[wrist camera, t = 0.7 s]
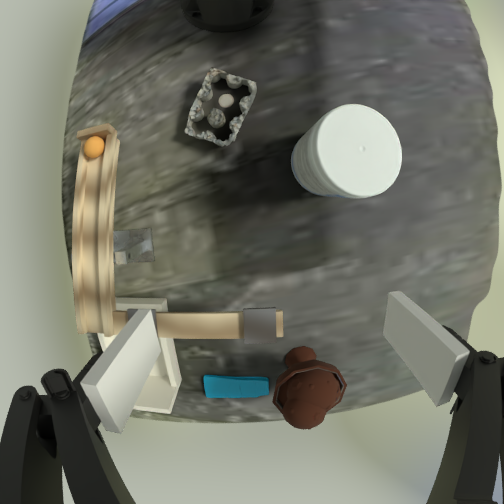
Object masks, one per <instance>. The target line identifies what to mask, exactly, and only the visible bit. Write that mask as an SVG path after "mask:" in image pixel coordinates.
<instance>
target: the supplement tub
mask: <svg viewBox="0 0 504 504" xmlns="http://www.w3.org/2000/svg"><path fill="white" fill-rule="evenodd" d="M401 161H402V152H401V146H400V142H399V139H398V136H397V134H396V132H395V130H394V128H393V127H392V125H391V124H390V123H389V121H388V120H387V119H386V118H385V117H384V116H382V115H381V114H380V113H379V112H377V111H375V110H374V109H371V108H369V107H367V106H363V105H358V104H347V105H343V106H340V107H337V108H335V109H333V110H331V111H329V112H328V113H326V114H325V115H324V116H323V117H322V118H321V119H320V120H318V121H317V122H316V123H315V124H314V125H313V126H312V127H311V128H310V129H309V130H308V131H307V132H306V133H305V134H304V135H303V136H302V137H301V138H300V140H299V141H298V142H297V144H296V145H295V147H294V149H293V152H292V157H291V166H292V170H293V174H294V176H295V178H296V179H297V181H298V182H299V184H300V185H301V186H302V187H303V188H305V189H306V190H308V191H309V192H311V193H313V194H316V195H322V196H332V197H344V198H366V197H370V196H375V195H378V194H380V193H382V192H384V191H385V190H386V189H388V188H389V187H390V186H391V185H392V184H393V182H394V181H395V179H396V178H397V176H398V173H399V171H400V167H401Z"/></svg>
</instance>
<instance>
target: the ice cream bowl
mask: <svg viewBox="0 0 504 504" xmlns="http://www.w3.org/2000/svg"><path fill="white" fill-rule="evenodd" d="M285 363H286V365H287V366H288V369H287V370H286V371H285V372H284V373H282V374H281V375H280V376H279V377H278V379H277V382H276V387H275V392H274V397H273V403H274V405H275V406H276V407H277V408H278V409H279V411H280V412H281V413H282V414H283V416H284V418H285V420H286V421H287V422H288V423H289V424H290V425H292V426H294V427H295V428H299V429H311V428H313V427H315V426H317V425H319V424H320V423H322V422H323V420H324V417H325V415H326V412H327V411H329V410H330V409H331V408H333V407H334V406H335V405H337V404H338V403H339V402H341V399H342V397H343V394H344V392H345V389H346V386H347V384H346V382H345V381H344V379H343V377H342V375H341V373H340V371H339V370H338V369H337V368H336V367H335V366H333V365H331V364H328V363H325V362H321V361H318V360H316V354H315V352H314V351H313V349H311V348H308V347H305V346H302V347H297V348H293V349H292V350H291V351H290V352H289V353H288V354H287V355H286V360H285Z"/></svg>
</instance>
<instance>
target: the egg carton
mask: <svg viewBox="0 0 504 504" xmlns="http://www.w3.org/2000/svg"><path fill="white" fill-rule="evenodd" d="M221 78H223V79H226V81H227V84H228V86H229V87H230V88H239V87H240V86H241V85H242V84H244V85H246V86H248V87H249V92H250V93H251V95H250V96H245V97H243V98H242V99H241V100H240V103H239V105H240V110H241V112H242V114H243V116H242V115H240V116H239V117H234V118H233V120H232V121H231V122H230V124H229V126H230V129H231V130H232V132H233V133H232V134H230V135H229V137H230V138H229V139H228V140H225V141H224V142H223V141H221V140H219V139H218V140H216V137H215V136H214V134H213V133H212V132H211V131H208V130H207V131H206V132H202V133H201V134H200V135H199V134H196V136H195V131H194V130H193V129H192V128H191V127H192V124H193V122H198V121H200V120H201V119H202V118H203V116H204V111H203V109H202V108H201V104H202V102H206V101H208V100H210V99H211V98H212V95H213V93H212V90H211V86H210V84H211V83H215V82H218V81H219V80H220V79H221ZM256 92H257V87H256V83H255V82H253V81H250V80H247V79H244V78H241V77H239V76H237V77H236V76H234V75H230V74H228V73H226V72H224V71H221V70H218V69H215V68H213V67H212V68H211V69H210V71H209V72H208V74H207V76H206V78H205V79H204V81H203V84H202V87H201V89H200V91H199V93H198V94H197V97H196V99H195V101H194V103H193V105H192V107H191V109H190V113H189V117H188V121H187V127H186V129H185V133H187V134H189V135H190V136H194V137H195V138H197V139H206V140H208V141H212V142H214V143H216V144H217V145H219V146H221V147H223V146H224V145H229V144H230V143H231V142H234V141H235V139H236V134H237V133H238V131H239V128H240V127H241V125H242V121H243V120H244V118H245V116H246V114H247V112H248V110H249V108H250V107H251V105H252V103H253V100H254V98H255V95H256ZM218 102H219V105H220V106H221V107H224V108H227V107H230V106H231V105H232V104H233V103H234V98H233V96H232V95H230V94H223V95H222V96H221V97H220V98H219V101H218ZM207 119H208V122H209V124H210V125H211V126H212V127H213V128H221V127H223V126H224V124H225V116H224V114H223V112H222V111H221V110H219V109H216V108H212V109H211V110H210V113H209V115H208V117H207Z"/></svg>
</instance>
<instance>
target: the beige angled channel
mask: <svg viewBox="0 0 504 504" xmlns="http://www.w3.org/2000/svg"><path fill="white" fill-rule="evenodd" d="M93 136H98V137H100V138H102V139H103V141H104V144H105V148H104V151H103V153H102V154H101V155H100V156H98V157H96V158H90V157H88V156H87V155H86V154H85V152H84V145H85V142H86V141H87V140H88V139H89V138H90V137H93ZM116 137H117V131H116V130H115V129H114V128H113V127H112V126H111V125H110V124H109V123H107V124H103V125H99V126H95V127H91V128H88V129H84V130H81V131H78V133H77V138H78V139H79V140H81V141H82V142H81V148H80V154H79V161H78V168H77V176H76V184H75V195H74V207H73V227H72V271H73V290H74V302H75V312H76V321H77V330H78V334H84V333H87V332H93V333H102V334H104V337H111V336H113V335H118V334H119V332H120V331H121V330H122V329H123V327H124V326H125V325H126V324H127V323H128V321H129V320H130V319H131V318H132V317H133V315H134V314H135V313H136V312H137V311H138V309H127V311H121V310H116V300H115V285H114V260H113V224H114V199H115V183H116V172H117V162H118V153H119V145H120V141H119V140H118V139H117V138H116ZM151 312H152V316H153V321H154V325H155V329H156V333H157V337H158V338H187V339H237V338H244V340H245V344H257V343H277V337H283V311H282V310H276V308H275V307H273V308H248V309H243V311H231V312H156V309H151ZM158 341H159V340H158Z"/></svg>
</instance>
